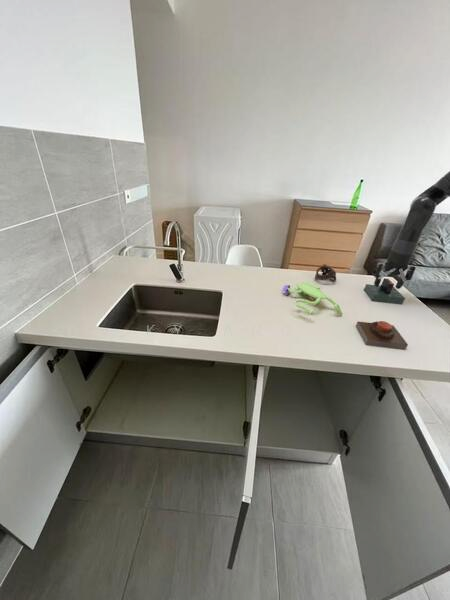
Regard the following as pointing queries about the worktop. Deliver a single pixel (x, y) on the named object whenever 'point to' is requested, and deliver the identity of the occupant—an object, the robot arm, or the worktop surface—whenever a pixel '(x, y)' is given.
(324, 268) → the dark brown dome
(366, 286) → the panel
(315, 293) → the figurine
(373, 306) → the worktop surface
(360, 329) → the button block
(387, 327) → the button
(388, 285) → the handle
